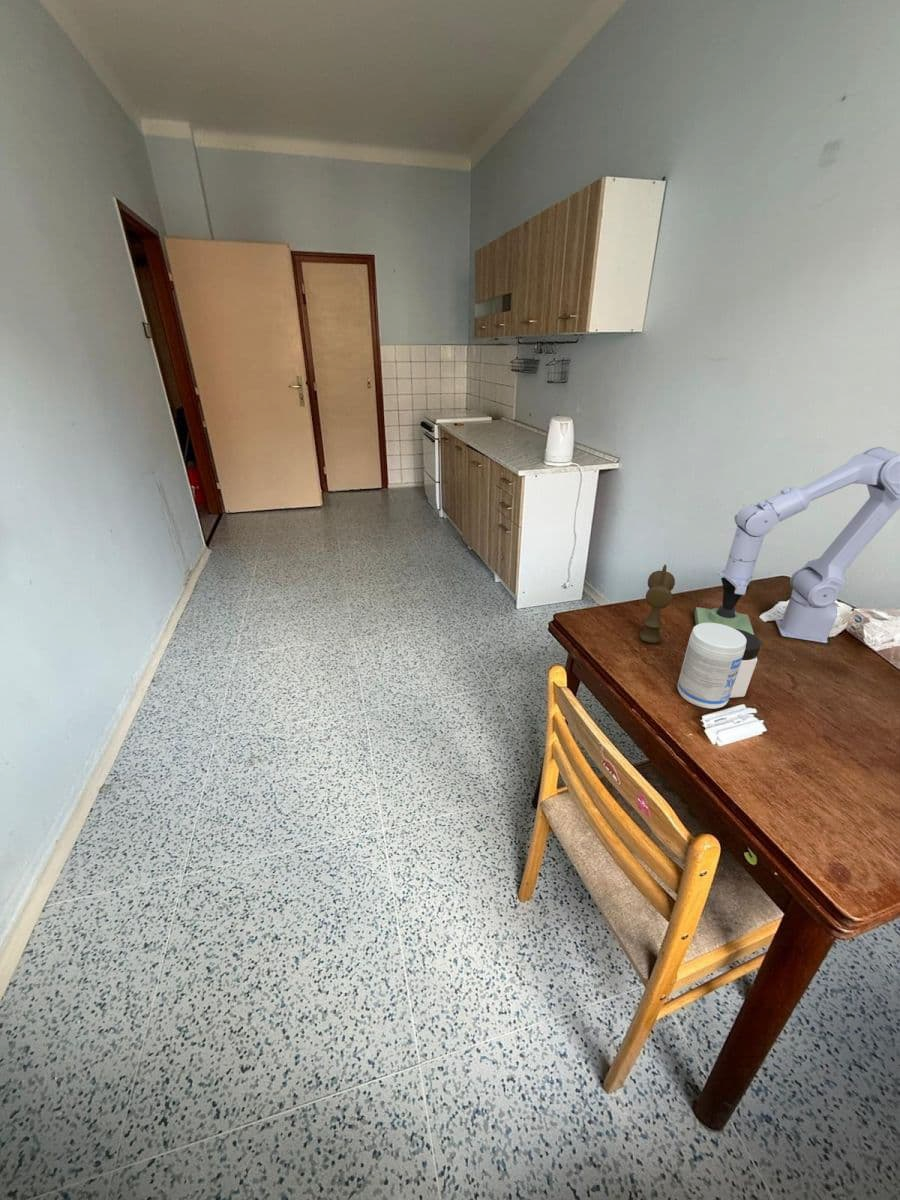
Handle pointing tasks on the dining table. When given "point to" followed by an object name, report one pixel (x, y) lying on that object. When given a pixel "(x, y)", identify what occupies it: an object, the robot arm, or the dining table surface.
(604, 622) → the dining table surface
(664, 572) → the kendama
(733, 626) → the green button box
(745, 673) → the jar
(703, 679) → the supplement tub
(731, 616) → the push button
